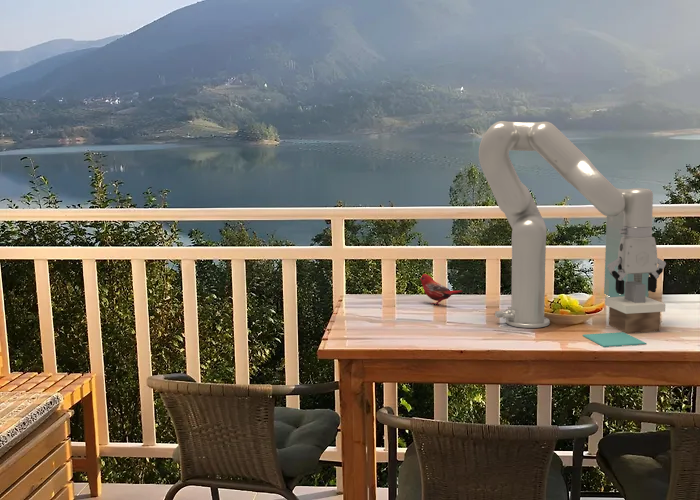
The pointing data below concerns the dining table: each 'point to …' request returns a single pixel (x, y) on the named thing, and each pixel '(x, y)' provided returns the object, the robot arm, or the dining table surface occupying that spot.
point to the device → (612, 254)
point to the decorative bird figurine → (435, 289)
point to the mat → (613, 339)
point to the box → (634, 321)
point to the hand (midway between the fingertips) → (636, 292)
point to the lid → (634, 300)
